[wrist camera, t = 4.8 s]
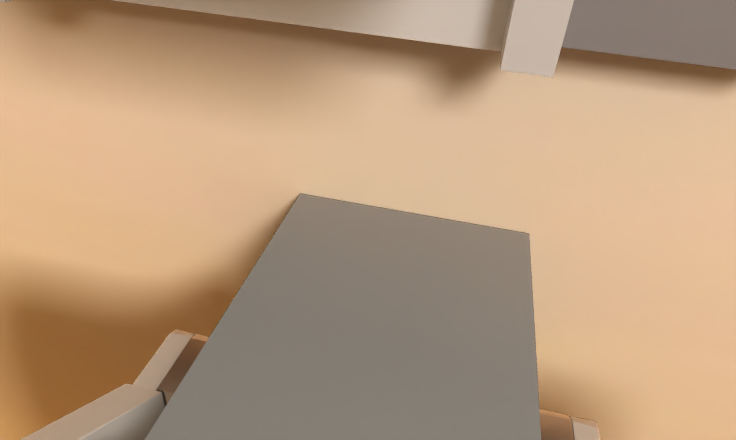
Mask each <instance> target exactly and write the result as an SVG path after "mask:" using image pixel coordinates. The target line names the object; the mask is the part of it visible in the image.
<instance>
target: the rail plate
mask: <svg viewBox="0 0 736 440" xmlns="http://www.w3.org/2000/svg"><path fill="white" fill-rule="evenodd" d="M9 1H12V0H0V2H9ZM113 1H121V2H128V3H136V4H143V5H151V6H158V7H166V8H174V9H181V10H189V11H196V12H204V13H211V14H219V15H226V16H234V17H242V18H249V19H257V20H264V21H272V22H279V23H287V24H294V25H302V26H310V27H317V28H325V29H332V30H340V31H347V32H355V33H363V34H370V35H378V36H385V37H393V38H400V39H408V40H415V41H423V42H431V43H438V44H446V45H453V46H461V47H468V48H476V49H483V50H491V51H499V52H501V61H500V70H503V71H510V72H518V73H525V74H532V75H540V76H547V77H554V73H555V69H556V66H557V62H558V58H559V54H560V51H561V47H564V48H572V49H580V50H588V51H595V52H603V53H611V54H619V55H626V56H634V57H642V58H649V59H657V60H665V61H673V62H680V63H688V64H696V65H704V66H711V67H719V68H727V69H735V70H736V0H113Z"/></svg>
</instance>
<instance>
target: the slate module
mask: <svg viewBox="0 0 736 440" xmlns="http://www.w3.org/2000/svg"><path fill="white" fill-rule="evenodd" d="M145 440H541V426H540V409H539V392H538V375H537V358H536V341H535V324H534V307H533V290H532V273H531V256H530V239H529V234H528V233H522V232H516V231H511V230H505V229H499V228H494V227H488V226H482V225H476V224H471V223H465V222H459V221H454V220H448V219H442V218H437V217H431V216H425V215H420V214H414V213H408V212H402V211H397V210H391V209H385V208H380V207H374V206H368V205H363V204H357V203H351V202H345V201H340V200H334V199H328V198H323V197H317V196H311V195H306V194H299V196H298V198H297V199H296V201H295V202H294V204H293V206H292V207H291V209H290V210H289V212H288V213H287V215H286V217H285V218H284V220H283V221H282V223H281V225H280V226H279V228H278V229H277V231H276V232H275V234H274V236H273V237H272V239H271V240H270V242H269V244H268V245H267V247H266V248H265V250H264V251H263V253H262V255H261V256H260V258H259V259H258V261H257V263H256V264H255V266H254V267H253V269H252V270H251V272H250V274H249V275H248V277H247V278H246V280H245V282H244V283H243V285H242V286H241V288H240V289H239V291H238V293H237V294H236V296H235V297H234V299H233V301H232V302H231V304H230V305H229V307H228V309H227V310H226V312H225V313H224V315H223V316H222V318H221V320H220V321H219V323H218V324H217V326H216V328H215V329H214V331H213V332H212V334H211V335H210V337H209V339H208V340H207V342H206V343H205V345H204V347H203V348H202V350H201V351H200V353H199V354H198V356H197V358H196V359H195V361H194V362H193V364H192V366H191V367H190V369H189V370H188V372H187V373H186V375H185V377H184V378H183V380H182V381H181V383H180V385H179V386H178V388H177V389H176V391H175V392H174V394H173V396H172V397H171V399H170V400H169V402H168V404H167V405H166V407H165V408H164V410H163V411H162V413H161V415H160V416H159V418H158V419H157V421H156V423H155V424H154V426H153V427H152V429H151V430H150V432H149V434H148V435H147V437H146V438H145Z"/></svg>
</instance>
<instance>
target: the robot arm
mask: <svg viewBox="0 0 736 440" xmlns="http://www.w3.org/2000/svg"><path fill="white" fill-rule="evenodd" d="M208 339H209V337H208V336H204V335H200V334H195V333H191V332H187V331H182V330H178V329H175V330H174V331H172V332H171V333H170V334H168V336H167V337H166V339H165V340H164V341H163V343H162V344H161V345H160V347H159V348H158V350H157V351H156V352H155V354H154V355H153V356H152V358H151V359H150V361H149V362H148V363H147V365H146V366H145V367H144V369H143V370H142V372H141V373H140V374H139V376H138V377H137V378H136V380H135V381H134V382H133V384H127V383H125V384H124V385H122V386H120V387H118V388H116V389H114V390H112V391H110V392H108V393H107V394H105V395H103V396H101V397H99V398H97V399H95V400H93V401H92V402H90V403H88V404H86V405H84V406H82V407H80V408H78V409H77V410H75V411H73V412H71V413H69V414H67V415H65V416H63V417H62V418H60V419H58V420H56V421H54V422H52V423H50V424H48V425H47V426H45V427H43V428H41V429H39V430H37V431H35V432H33V433H32V434H30V435H28V436H26V437H24V438H22V439H20V440H145V438H146V437H147V435H148V434H149V432H150V430H151V429H152V427H153V426H154V424H155V423H156V421H157V419H158V418H159V416H160V415H161V413H162V411H163V410H164V408H165V407H166V405H167V404H168V402H169V400H170V399H171V397H172V396H173V394H174V392H175V391H176V389H177V388H178V386H179V385H180V383H181V381H182V380H183V378H184V377H185V375H186V373H187V372H188V370H189V369H190V367H191V366H192V364H193V362H194V361H195V359H196V358H197V356H198V354H199V353H200V351H201V350H202V348H203V347H204V345H205V343H206V342H207V340H208ZM540 426H541V440H600V434H599V428H598V425H597V423H596V422H595V421H592V420H587V419H583V418H578V417H573V416H568V415H566V414H562V413H557V412H552V411H547V410H542V409H540Z"/></svg>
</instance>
